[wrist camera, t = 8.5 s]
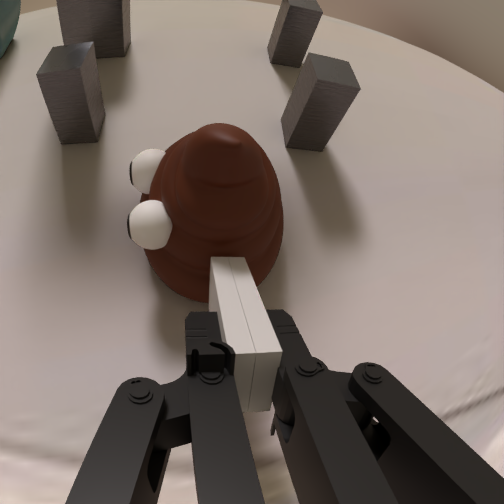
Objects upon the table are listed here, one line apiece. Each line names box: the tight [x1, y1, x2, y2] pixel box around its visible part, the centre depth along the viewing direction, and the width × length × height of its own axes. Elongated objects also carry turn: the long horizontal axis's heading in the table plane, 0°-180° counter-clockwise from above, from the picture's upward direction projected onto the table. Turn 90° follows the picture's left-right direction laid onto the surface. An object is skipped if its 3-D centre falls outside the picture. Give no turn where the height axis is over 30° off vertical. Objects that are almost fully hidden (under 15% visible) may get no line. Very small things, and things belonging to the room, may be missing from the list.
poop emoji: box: [127, 123, 283, 303], centre depth 16 cm, size 10×8×9 cm
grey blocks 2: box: [36, 42, 361, 151], centre depth 19 cm, size 3×20×7 cm, turn 94°
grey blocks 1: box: [88, 0, 323, 68], centre depth 23 cm, size 3×20×7 cm, turn 94°
